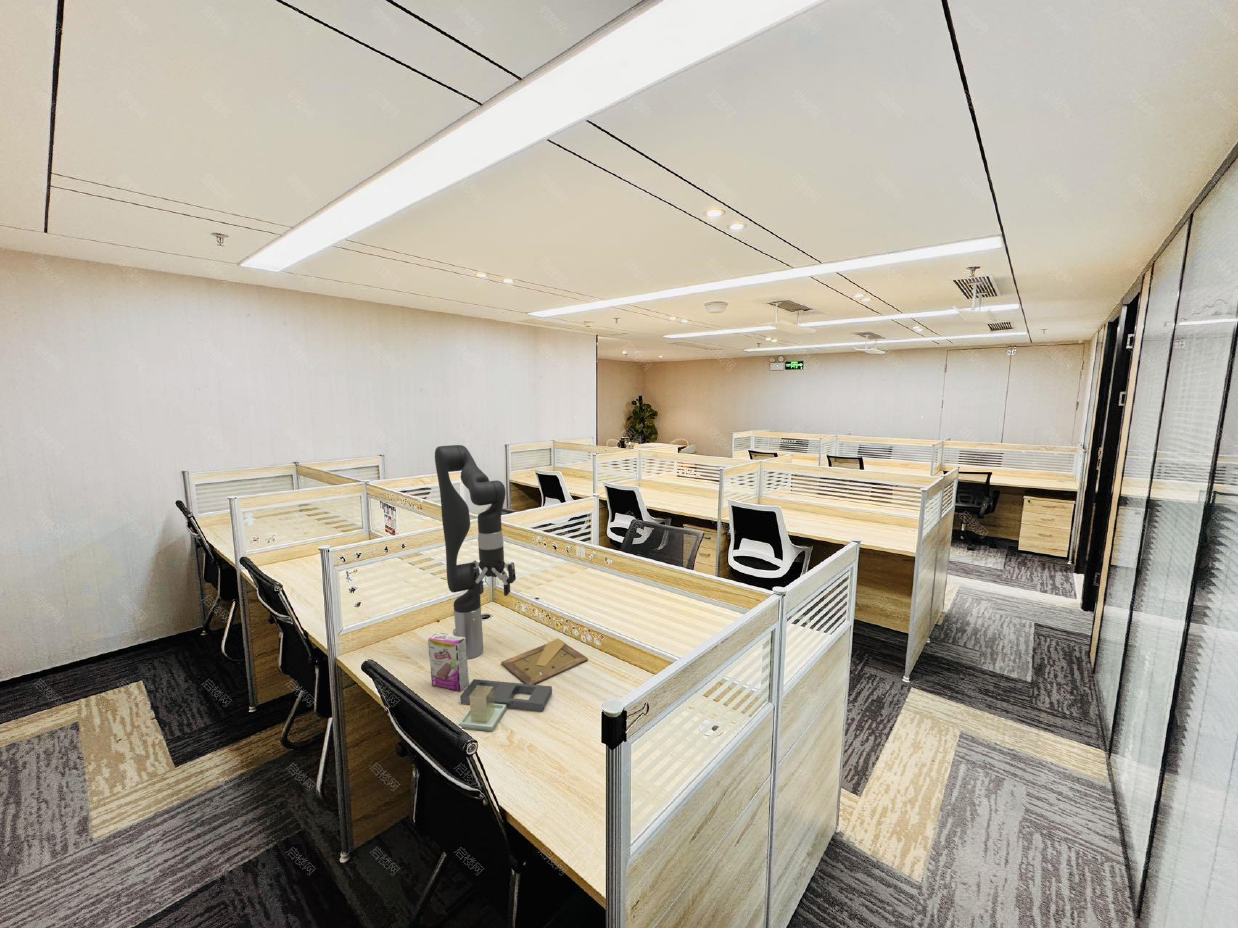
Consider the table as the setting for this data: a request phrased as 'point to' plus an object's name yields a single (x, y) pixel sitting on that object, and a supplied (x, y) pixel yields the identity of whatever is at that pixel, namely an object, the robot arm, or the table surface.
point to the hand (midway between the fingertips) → (493, 594)
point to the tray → (482, 726)
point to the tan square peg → (482, 704)
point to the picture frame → (544, 662)
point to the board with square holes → (513, 694)
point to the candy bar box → (448, 661)
